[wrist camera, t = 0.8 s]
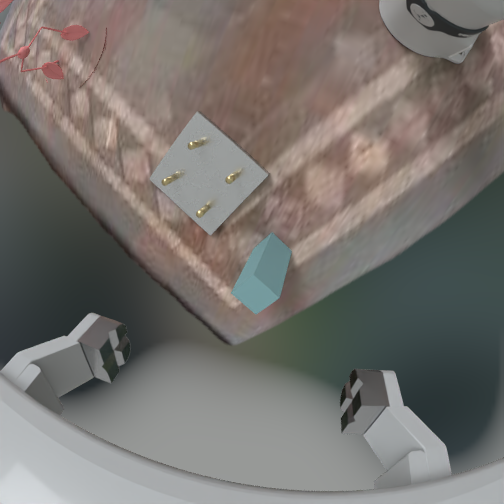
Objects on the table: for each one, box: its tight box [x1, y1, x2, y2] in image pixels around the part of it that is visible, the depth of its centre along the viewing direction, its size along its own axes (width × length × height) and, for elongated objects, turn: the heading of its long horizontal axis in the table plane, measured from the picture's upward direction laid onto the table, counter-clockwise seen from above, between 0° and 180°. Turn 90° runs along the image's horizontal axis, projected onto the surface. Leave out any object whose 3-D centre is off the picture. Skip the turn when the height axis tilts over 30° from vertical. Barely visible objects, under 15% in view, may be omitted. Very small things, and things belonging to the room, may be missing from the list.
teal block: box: [231, 233, 292, 314], centre depth 46 cm, size 5×5×14 cm
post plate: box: [150, 111, 270, 236], centre depth 46 cm, size 16×16×5 cm
